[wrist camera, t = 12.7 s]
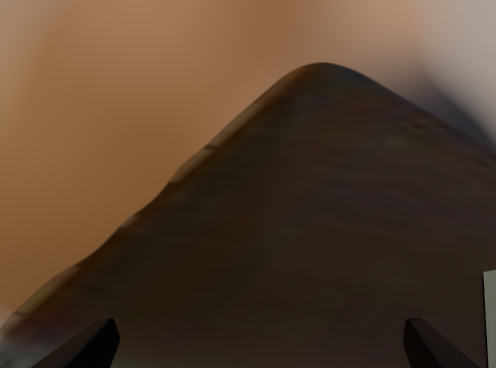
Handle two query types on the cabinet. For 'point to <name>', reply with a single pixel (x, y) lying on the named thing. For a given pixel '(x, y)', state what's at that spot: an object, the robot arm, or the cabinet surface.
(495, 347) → the sage board
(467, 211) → the cabinet surface
